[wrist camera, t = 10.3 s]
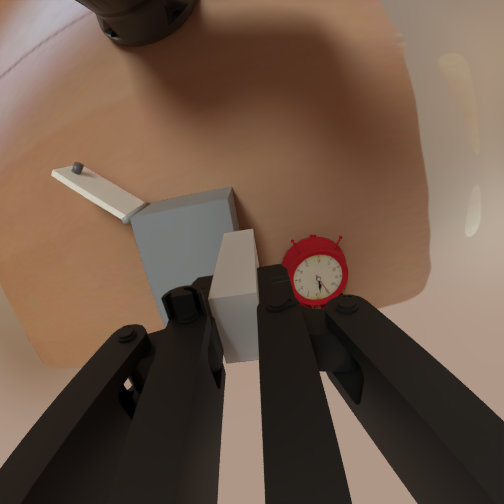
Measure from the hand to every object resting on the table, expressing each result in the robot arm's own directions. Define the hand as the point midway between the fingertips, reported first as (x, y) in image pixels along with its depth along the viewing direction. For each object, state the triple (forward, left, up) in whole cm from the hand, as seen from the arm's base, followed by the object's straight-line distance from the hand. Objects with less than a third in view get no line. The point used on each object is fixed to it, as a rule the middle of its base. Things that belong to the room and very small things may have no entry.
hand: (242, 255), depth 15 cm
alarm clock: (+16, +8, -27) cm, 32 cm away
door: (-4, -19, -26) cm, 33 cm away
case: (+10, -8, -26) cm, 29 cm away
